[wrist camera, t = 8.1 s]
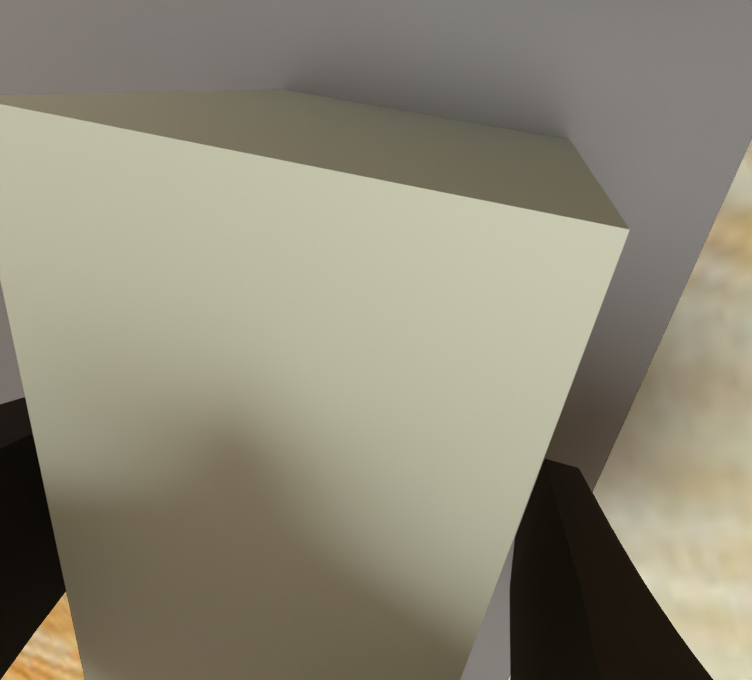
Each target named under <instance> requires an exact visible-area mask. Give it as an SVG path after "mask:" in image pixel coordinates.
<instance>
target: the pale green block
mask: <svg viewBox="0 0 752 680" xmlns="http://www.w3.org/2000/svg"><path fill="white" fill-rule="evenodd" d="M629 230H630V229H629V228H628V226H627V225H626V223H625V222H624V220H623V219H622V217H621V216H620V214H619V213H618V211H617V210H616V208H615V207H614V205H613V204H612V202H611V201H610V199H609V198H608V196H607V195H606V193H605V192H604V190H603V189H602V187H601V186H600V184H599V183H598V181H597V180H596V178H595V177H594V175H593V174H592V172H591V171H590V169H589V168H588V166H587V165H586V163H585V162H584V160H583V159H582V157H581V156H580V154H579V153H578V151H577V150H576V148H575V147H574V145H573V144H572V142H571V141H570V139H564V138H558V137H553V136H547V135H541V134H535V133H530V132H524V131H518V130H513V129H507V128H501V127H495V126H490V125H484V124H478V123H473V122H467V121H461V120H455V119H450V118H444V117H438V116H433V115H427V114H421V113H415V112H410V111H404V110H398V109H393V108H387V107H381V106H375V105H370V104H364V103H358V102H353V101H347V100H341V99H335V98H330V97H324V96H318V95H312V94H307V93H301V92H295V91H290V90H284V89H267V90H222V91H177V92H133V93H88V94H43V95H0V281H1V286H2V290H3V295H4V300H5V305H6V309H7V314H8V319H9V323H10V328H11V333H12V338H13V342H14V347H15V352H16V356H17V361H18V366H19V371H20V375H21V380H22V385H23V390H24V394H25V399H26V404H27V408H28V413H29V418H30V423H31V427H32V432H33V437H34V441H35V446H36V451H37V456H38V460H39V465H40V470H41V474H42V479H43V484H44V489H45V493H46V498H47V503H48V508H49V512H50V517H51V522H52V526H53V531H54V536H55V541H56V545H57V550H58V555H59V559H60V564H61V569H62V574H63V578H64V583H65V588H66V593H67V597H68V602H69V607H70V611H71V616H72V621H73V626H74V630H75V635H76V640H77V644H78V649H79V654H80V659H81V663H82V668H83V673H84V678H85V680H461V677H462V674H463V672H464V669H465V666H466V664H467V661H468V658H469V656H470V653H471V650H472V648H473V645H474V642H475V640H476V637H477V634H478V632H479V629H480V626H481V624H482V621H483V618H484V616H485V613H486V610H487V608H488V605H489V603H490V600H491V597H492V595H493V592H494V589H495V587H496V584H497V581H498V579H499V576H500V573H501V571H502V568H503V565H504V563H505V560H506V557H507V555H508V552H509V549H510V547H511V544H512V541H513V539H514V536H515V533H516V531H517V528H518V525H519V523H520V520H521V517H522V515H523V512H524V509H525V507H526V504H527V502H528V499H529V496H530V494H531V491H532V488H533V486H534V483H535V480H536V478H537V475H538V472H539V470H540V467H541V464H542V462H543V459H544V456H545V454H546V451H547V448H548V446H549V443H550V440H551V438H552V435H553V432H554V430H555V427H556V424H557V422H558V419H559V416H560V414H561V411H562V409H563V406H564V403H565V401H566V398H567V395H568V393H569V390H570V387H571V385H572V382H573V379H574V377H575V374H576V371H577V369H578V366H579V363H580V361H581V358H582V355H583V353H584V350H585V347H586V345H587V342H588V339H589V337H590V334H591V331H592V329H593V326H594V323H595V321H596V318H597V315H598V313H599V310H600V308H601V305H602V302H603V300H604V297H605V294H606V292H607V289H608V286H609V284H610V281H611V278H612V276H613V273H614V270H615V268H616V265H617V262H618V260H619V257H620V254H621V252H622V249H623V246H624V244H625V241H626V238H627V236H628V233H629Z"/></svg>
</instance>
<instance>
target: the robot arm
mask: <svg viewBox="0 0 752 680" xmlns="http://www.w3.org/2000/svg"><path fill="white" fill-rule="evenodd" d="M65 592H66V588H65V583H64V578H63V574H62V569H61V564H60V559H59V555H58V550H57V545H56V541H55V536H54V531H53V526H52V522H51V517H50V512H49V508H48V503H47V498H46V493H45V489H44V484H43V479H42V474H41V470H40V465H39V460H38V456H37V451H36V446H35V441H34V437H33V432H32V427H31V423H30V418H29V413H28V408H27V404H26V399H25V397H23V398H20V399H17V400H13V401H10V402H6V403H3V404H0V680H1V678H2V677H3V676H4V674H5V673H6V671H7V670H8V669H9V667H10V666H11V664H12V663H13V662H14V660H15V659H16V657H17V656H18V655H19V653H20V652H21V650H22V649H23V648H24V646H25V645H26V644H27V642H28V641H29V639H30V638H31V637H32V635H33V634H34V632H35V631H36V630H37V629H38V627H39V626H40V625H41V623H42V622H43V621H44V619H45V618H46V617H47V615H48V614H49V613H50V611H51V610H52V609H53V607H54V606H55V605H56V604H57V602H58V601H59V600H60V598H61V597H62V596H63V594H64V593H65ZM510 676H511V680H713V679H712V678H711V676H710V675H709V674H708V672H707V671H706V670H705V668H704V667H703V666H702V665H701V663H700V662H699V661H698V659H697V658H696V657H695V655H694V654H693V653H692V651H691V650H690V649H689V647H688V646H687V645H686V643H685V642H684V640H683V639H682V638H681V636H680V635H679V634H678V632H677V631H676V629H675V628H674V626H673V625H672V623H671V622H670V621H669V619H668V618H667V616H666V615H665V613H664V612H663V610H662V609H661V607H660V606H659V604H658V603H657V601H656V600H655V598H654V597H653V595H652V594H651V592H650V591H649V589H648V588H647V586H646V584H645V583H644V581H643V580H642V578H641V576H640V575H639V573H638V571H637V570H636V568H635V566H634V565H633V563H632V562H631V560H630V558H629V557H628V555H627V553H626V552H625V550H624V548H623V547H622V545H621V543H620V541H619V540H618V538H617V536H616V534H615V533H614V531H613V529H612V527H611V526H610V524H609V522H608V520H607V518H606V517H605V515H604V513H603V511H602V509H601V508H600V506H599V504H598V502H597V500H596V498H595V496H594V495H593V493H592V491H591V489H590V487H589V485H588V483H587V482H586V480H585V478H584V476H583V474H582V473H581V471H580V469H579V468H577V467H574V466H570V465H566V464H563V463H559V462H555V461H552V460H548V459H544V462H543V464H542V467H541V470H540V472H539V475H538V477H537V480H536V483H535V485H534V488H533V491H532V493H531V496H530V499H529V501H528V504H527V507H526V509H525V512H524V515H523V517H522V520H521V523H520V525H519V528H518V530H517V533H516V536H515V542H514V551H513V560H512V569H511V579H510Z"/></svg>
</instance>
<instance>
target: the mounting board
mask: <svg viewBox="0 0 752 680" xmlns="http://www.w3.org/2000/svg"><path fill="white" fill-rule="evenodd" d="M267 89H284V90H290V91H295V92H301V93H307V94H312V95H318V96H324V97H330V98H335V99H341V100H347V101H353V102H358V103H364V104H370V105H375V106H381V107H387V108H393V109H398V110H404V111H410V112H415V113H421V114H427V115H433V116H438V117H444V118H450V119H455V120H461V121H467V122H473V123H478V124H484V125H490V126H495V127H501V128H507V129H513V130H518V131H524V132H530V133H535V134H541V135H547V136H553V137H558V138H564V139H570V141H571V142H572V144H573V145H574V147H575V148H576V150H577V151H578V153H579V154H580V156H581V157H582V159H583V160H584V162H585V163H586V165H587V166H588V168H589V169H590V171H591V172H592V174H593V175H594V177H595V178H596V180H597V181H598V183H599V184H600V186H601V187H602V189H603V190H604V192H605V193H606V195H607V196H608V198H609V199H610V201H611V202H612V204H613V205H614V207H615V208H616V210H617V211H618V213H619V214H620V216H621V217H622V219H623V220H624V222H625V223H626V225H627V226H628V228H629V229H630V230H629V233H628V236H627V238H626V241H625V244H624V246H623V249H622V252H621V254H620V257H619V260H618V262H617V265H616V268H615V270H614V273H613V276H612V278H611V281H610V284H609V286H608V289H607V292H606V294H605V297H604V300H603V302H602V305H601V308H600V310H599V313H598V315H597V318H596V321H595V323H594V326H593V329H592V331H591V334H590V337H589V339H588V342H587V345H586V347H585V350H584V353H583V355H582V358H581V361H580V363H579V366H578V369H577V371H576V374H575V377H574V379H573V382H572V385H571V387H570V390H569V393H568V395H567V398H566V401H565V403H564V406H563V409H562V411H561V414H560V416H559V419H558V422H557V424H556V427H555V430H554V432H553V435H552V438H551V440H550V443H549V446H548V448H547V451H546V454H545V456H544V459H548V460H552V461H555V462H559V463H563V464H566V465H570V466H574V467H577V468H579V469H580V471H581V473H582V474H583V476H584V478H585V480H586V482H587V483H588V485H589V487H590V489H591V491H592V492H593V490H594V487H595V485H596V483H597V481H598V479H599V476H600V474H601V472H602V470H603V467H604V465H605V463H606V461H607V459H608V456H609V454H610V452H611V450H612V448H613V445H614V443H615V441H616V439H617V436H618V434H619V432H620V430H621V428H622V425H623V423H624V421H625V419H626V416H627V414H628V412H629V410H630V408H631V405H632V403H633V401H634V399H635V396H636V394H637V392H638V390H639V388H640V385H641V383H642V381H643V379H644V376H645V374H646V372H647V370H648V368H649V365H650V363H651V361H652V359H653V357H654V354H655V352H656V350H657V348H658V345H659V343H660V341H661V339H662V337H663V334H664V332H665V330H666V328H667V325H668V323H669V321H670V319H671V317H672V314H673V312H674V310H675V308H676V305H677V303H678V301H679V299H680V297H681V294H682V292H683V290H684V288H685V285H686V283H687V281H688V279H689V277H690V274H691V272H692V270H693V268H694V266H695V263H696V261H697V259H698V257H699V254H700V252H701V250H702V248H703V246H704V243H705V241H706V239H707V237H708V234H709V232H710V230H711V228H712V226H713V223H714V221H715V219H716V217H717V214H718V212H719V210H720V208H721V206H722V203H723V201H724V199H725V197H726V195H727V192H728V190H729V188H730V186H731V183H732V181H733V179H734V177H735V175H736V172H737V170H738V168H739V166H740V163H741V161H742V159H743V157H744V155H745V152H746V150H747V148H748V146H749V143H750V141H751V139H752V0H0V95H43V94H88V93H133V92H177V91H222V90H267ZM23 397H25V394H24V390H23V385H22V380H21V375H20V371H19V366H18V361H17V356H16V352H15V347H14V342H13V338H12V333H11V328H10V323H9V319H8V314H7V309H6V305H5V300H4V295H3V290H2V286H1V281H0V404H3V403H6V402H10V401H13V400H17V399H20V398H23ZM544 459H543V462H544ZM543 462H542V464H543ZM542 464H541V467H542ZM541 467H540V470H541ZM540 470H539V472H540ZM539 472H538V475H539ZM538 475H537V477H538ZM536 480H537V478H536ZM536 480H535V483H536ZM535 483H534V485H535ZM533 488H534V486H533ZM533 488H532V491H533ZM532 491H531V493H532ZM530 496H531V494H530ZM530 496H529V499H530ZM529 499H528V501H529ZM527 504H528V502H527ZM527 504H526V507H527ZM526 507H525V509H526ZM525 509H524V512H525ZM524 512H523V515H524ZM523 515H522V517H523ZM522 517H521V520H522ZM521 520H520V523H521ZM520 523H519V525H520ZM519 525H518V528H519ZM518 528H517V530H518ZM516 533H517V531H516ZM516 533H515V536H516ZM515 536H514V539H513V541H512V544H511V547H510V549H509V552H508V555H507V557H506V560H505V563H504V565H503V568H502V571H501V573H500V576H499V579H498V581H497V584H496V587H495V589H494V592H493V595H492V597H491V600H490V603H489V605H488V608H487V610H486V613H485V616H484V618H483V621H482V624H481V626H480V629H479V632H478V634H477V637H476V640H475V642H474V645H473V648H472V650H471V653H470V656H469V658H468V661H467V664H466V666H465V669H464V672H463V674H462V677H461V680H508V678H509V676H510V579H511V569H512V560H513V551H514V542H515Z"/></svg>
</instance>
